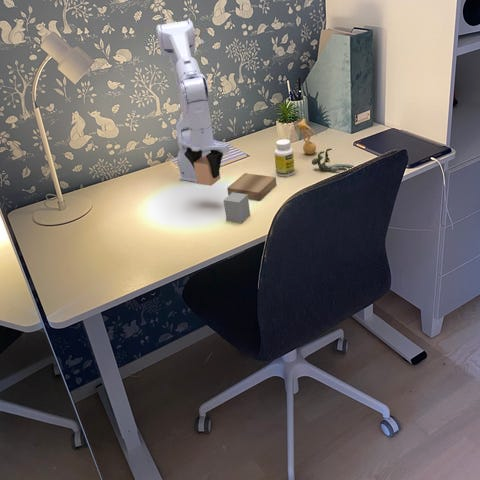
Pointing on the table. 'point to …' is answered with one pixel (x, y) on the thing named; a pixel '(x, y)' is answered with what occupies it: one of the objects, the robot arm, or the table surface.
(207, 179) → the terracotta block
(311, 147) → the figurine
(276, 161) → the supplement bottle
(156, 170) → the table surface
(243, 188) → the walnut slab
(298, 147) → the table surface
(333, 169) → the zombie figurine
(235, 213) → the medium grey block
